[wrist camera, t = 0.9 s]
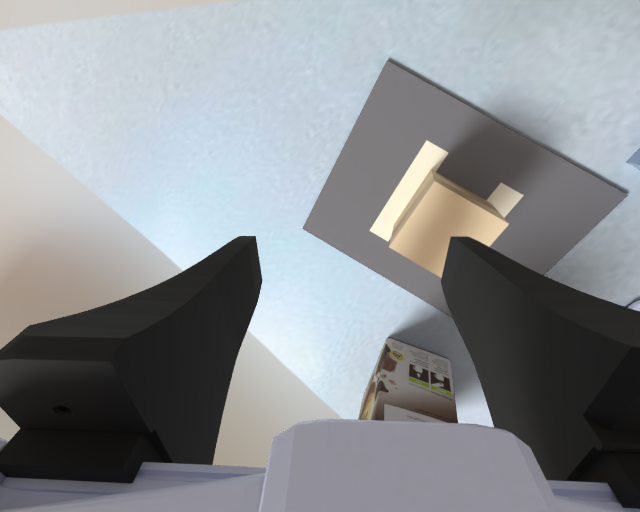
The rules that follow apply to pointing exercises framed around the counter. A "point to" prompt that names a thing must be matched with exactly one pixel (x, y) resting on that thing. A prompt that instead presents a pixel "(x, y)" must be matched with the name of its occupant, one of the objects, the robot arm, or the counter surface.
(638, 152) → the slate blue cube
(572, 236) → the letter mat
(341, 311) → the counter surface
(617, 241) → the counter surface
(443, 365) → the coffee box
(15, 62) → the counter surface
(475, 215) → the oak block
